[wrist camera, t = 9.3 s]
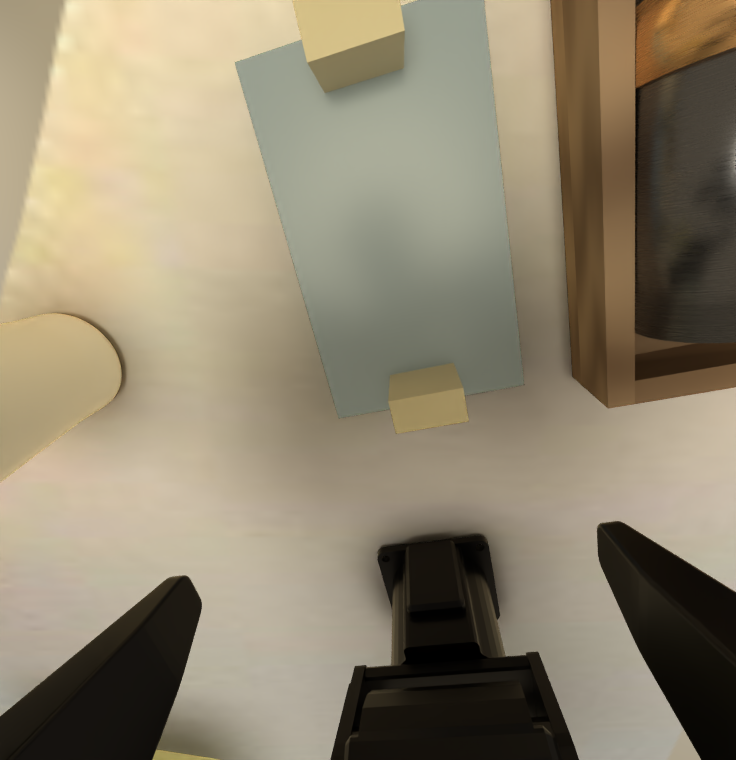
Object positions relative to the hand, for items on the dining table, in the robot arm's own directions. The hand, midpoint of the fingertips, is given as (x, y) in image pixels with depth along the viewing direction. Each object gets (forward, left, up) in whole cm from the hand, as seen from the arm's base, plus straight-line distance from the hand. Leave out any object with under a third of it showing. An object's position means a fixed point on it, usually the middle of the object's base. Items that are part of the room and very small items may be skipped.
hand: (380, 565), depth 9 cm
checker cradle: (+6, -2, -12) cm, 14 cm away
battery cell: (+6, -13, -11) cm, 18 cm away
